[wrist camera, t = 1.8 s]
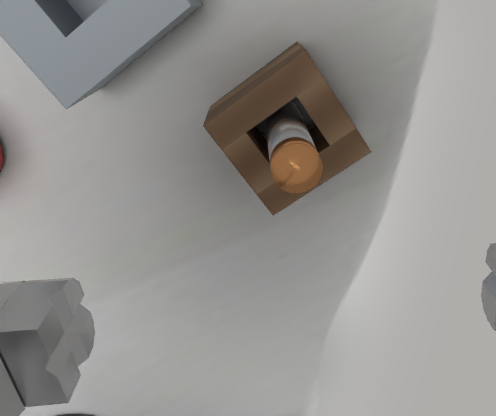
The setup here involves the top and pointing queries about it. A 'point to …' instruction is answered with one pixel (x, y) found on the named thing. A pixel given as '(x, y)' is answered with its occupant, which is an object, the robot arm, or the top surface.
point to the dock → (86, 38)
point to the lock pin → (292, 151)
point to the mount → (269, 101)
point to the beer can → (1, 157)
